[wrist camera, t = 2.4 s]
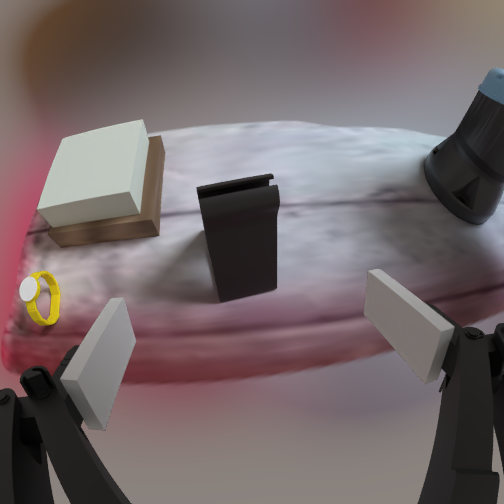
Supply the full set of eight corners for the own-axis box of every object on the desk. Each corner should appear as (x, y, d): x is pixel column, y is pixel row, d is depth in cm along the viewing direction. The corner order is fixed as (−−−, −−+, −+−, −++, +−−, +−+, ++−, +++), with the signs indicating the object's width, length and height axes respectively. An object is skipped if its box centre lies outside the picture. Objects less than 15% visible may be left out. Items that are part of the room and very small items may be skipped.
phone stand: (204, 229, 34) (190, 154, 23) (254, 219, 35) (260, 142, 24) (220, 302, 30) (207, 247, 19) (276, 289, 31) (294, 229, 20)
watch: (64, 329, 28) (35, 318, 22) (47, 329, 27) (17, 318, 22) (66, 279, 30) (39, 261, 25) (49, 281, 30) (21, 264, 24)
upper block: (149, 141, 36) (142, 119, 32) (140, 213, 30) (129, 191, 27) (73, 157, 35) (63, 138, 31) (52, 227, 29) (36, 209, 26)
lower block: (165, 155, 40) (160, 135, 36) (160, 238, 34) (151, 219, 30) (82, 170, 39) (72, 153, 35) (63, 249, 33) (48, 234, 29)
